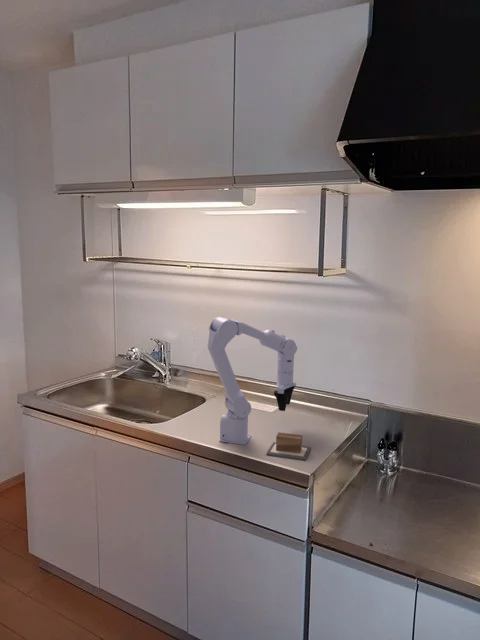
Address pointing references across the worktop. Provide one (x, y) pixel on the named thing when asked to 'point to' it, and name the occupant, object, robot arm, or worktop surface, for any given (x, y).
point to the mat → (289, 453)
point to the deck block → (289, 442)
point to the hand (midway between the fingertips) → (284, 407)
